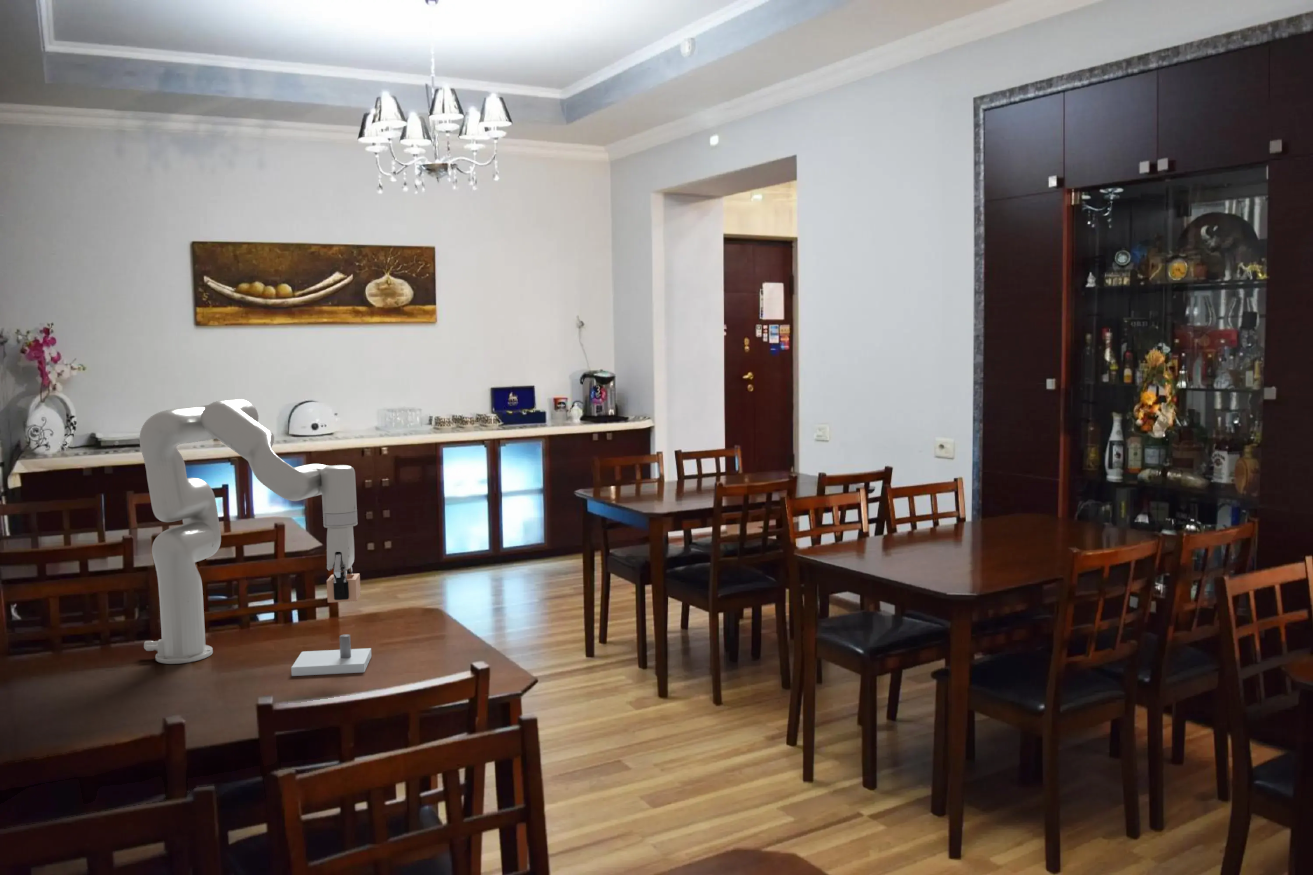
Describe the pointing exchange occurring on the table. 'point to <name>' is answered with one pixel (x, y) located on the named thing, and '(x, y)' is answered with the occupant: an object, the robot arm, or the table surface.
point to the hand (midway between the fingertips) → (344, 594)
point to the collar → (352, 584)
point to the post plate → (332, 660)
